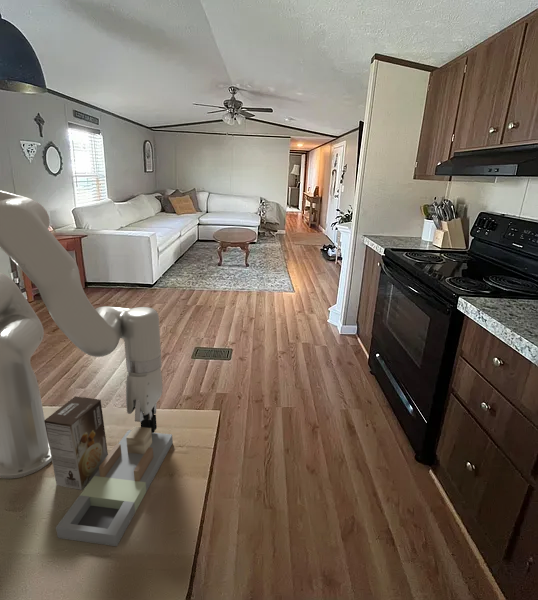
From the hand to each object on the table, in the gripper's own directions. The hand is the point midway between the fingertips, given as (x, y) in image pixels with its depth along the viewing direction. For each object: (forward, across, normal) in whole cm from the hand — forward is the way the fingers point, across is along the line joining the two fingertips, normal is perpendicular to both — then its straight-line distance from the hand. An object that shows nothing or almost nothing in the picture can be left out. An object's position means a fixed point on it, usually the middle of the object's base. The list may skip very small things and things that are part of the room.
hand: (149, 430), depth 90 cm
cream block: (+1, +5, 0) cm, 5 cm away
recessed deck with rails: (+3, +13, 0) cm, 14 cm away
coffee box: (+4, +12, -10) cm, 16 cm away
